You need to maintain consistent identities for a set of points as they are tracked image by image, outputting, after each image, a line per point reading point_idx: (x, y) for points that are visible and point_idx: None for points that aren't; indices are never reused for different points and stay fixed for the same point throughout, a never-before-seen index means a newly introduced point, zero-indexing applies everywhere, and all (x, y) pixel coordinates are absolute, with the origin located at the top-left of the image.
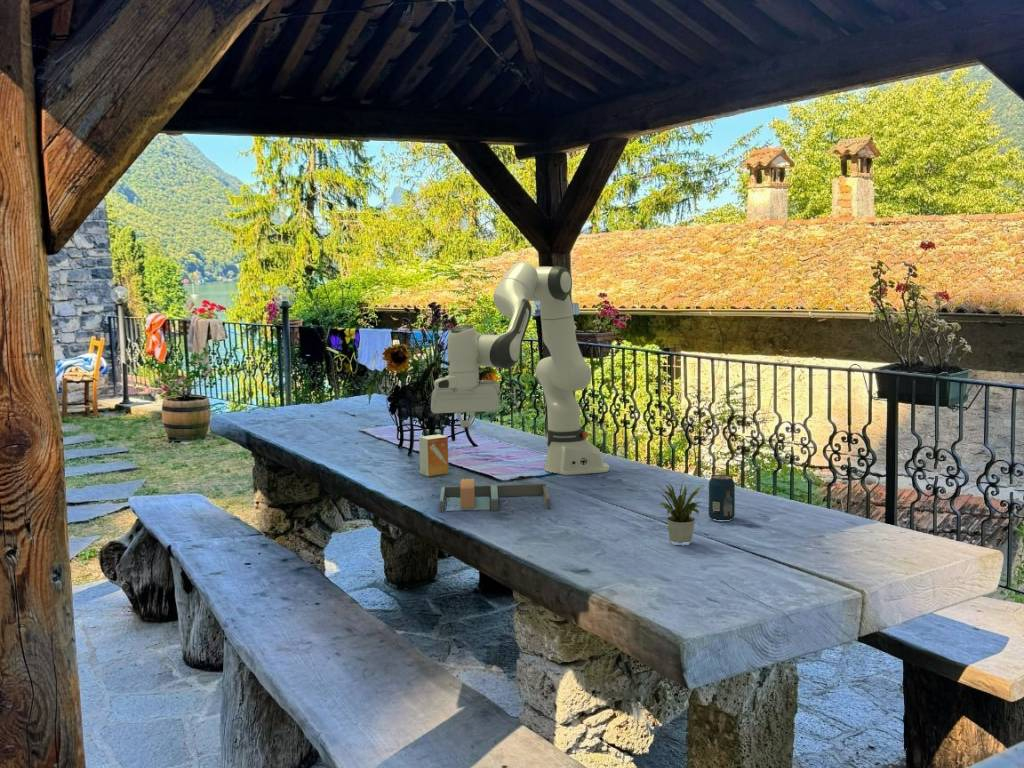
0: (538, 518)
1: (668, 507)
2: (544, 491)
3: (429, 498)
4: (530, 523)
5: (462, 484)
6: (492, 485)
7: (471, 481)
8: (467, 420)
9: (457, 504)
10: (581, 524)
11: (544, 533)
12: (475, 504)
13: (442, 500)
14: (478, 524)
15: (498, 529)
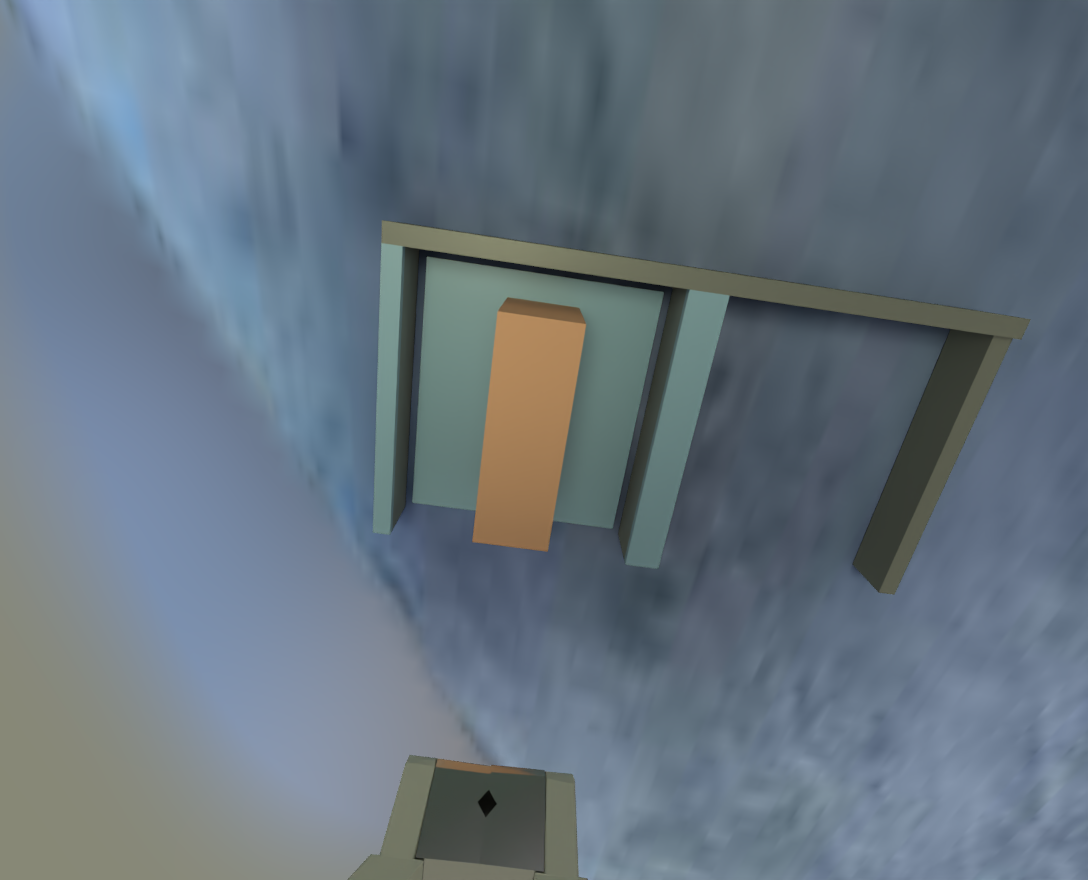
0: (766, 672)
1: None
2: (937, 465)
3: (328, 217)
4: (716, 715)
5: (494, 452)
6: (703, 283)
7: (557, 392)
8: (516, 869)
9: (475, 413)
10: (876, 760)
11: (722, 808)
12: None
13: (387, 533)
14: (532, 687)
15: (590, 747)
